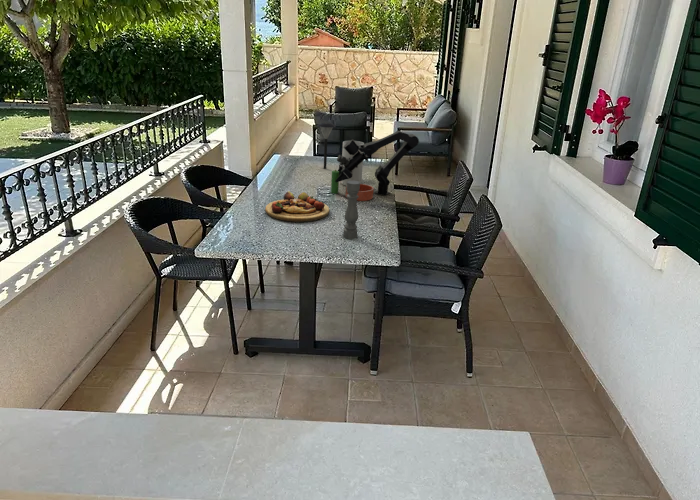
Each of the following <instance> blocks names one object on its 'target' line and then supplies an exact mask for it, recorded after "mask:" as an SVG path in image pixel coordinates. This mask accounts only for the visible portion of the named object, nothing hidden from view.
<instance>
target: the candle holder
mask: <svg viewBox="0 0 700 500" xmlns="http://www.w3.org/2000/svg"><path fill="white" fill-rule="evenodd" d="M359 190H360V182H358V181H347V192H348V195H347V197H346V198H347V206H346V210H345V213H344V220H345V224H344V228H343V235H342V236H343V238H344V239H347V240H355V239H357V238H358V225H357V224H356V223H357V221H358V220H359V213H358V207H357V203H358V201H357V198H358V197H359V196H358V195H357V194H358V192H359Z"/></svg>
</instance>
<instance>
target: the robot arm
mask: <svg viewBox="0 0 700 500" xmlns="http://www.w3.org/2000/svg"><path fill="white" fill-rule="evenodd" d="M398 140H401V141H403V142H402V145H401V147H400V148H399V149H397V151H396V152H395V153H394V154H393V155H392V156H391V158H389V159H388V161H387V162H386V163H385V164H384V165H381V164H379V166H378V167H377V168H376V169H375V172H374V177H375V179H376V180H377V181H378V182H377V184H378V185H377V191H375V193H374V194H375V195H381V196H387V195H389V194H390V193H391V192H390V191H389V185H390V183H391V181H390V179H389V178H388V177H389V175H390V173H391V171H392V170H393V168H394V167H395V166H397V164H398V163H399V162H400V161H401V160H402V158H403V157H404V156H405V155H406V154H407V153H408V152H409V151H411V150H413V149H414V148H416V146H418V145H419V143H420V139H419V137H418V136H417V135H416V134H414V133H409V134H408V133H406V132H403V131H400V130H396V131H395V132H393V133H391V134H388V135H386V136H384V137H382V138H380V139H378V140H375V141H370V142H366V143H364V145H359V146H358V145H357V144H356V143H355V142H354V141H355V140H354V139H351V140H348V141H349V142H347V143H346V144H345V145H344V147H343V146H342V149H343V148H344V149H345V150H346V151H347V152H348V153H349V154H350V155H354V154H355V155H354V156H353V157H352V158H348V159H347V158H346V157H344V156H342V154H338V156H337V158H336V162H338V163H339V164H338V169H337V171H339V177H338V178H337V179H336V180H335V182H339V183H340V182H341V181H342V180H346V179H349V178H351V177H352V175H353V174H352V170H354V169H355V168H357V167H358V165H359V164H360V163H361V162H362V161H363V162H364V161H366V162H367V163H368V162H369V158H370V157H369V156H372V155H374V154H375V153H377V151H378V150H380V149H381V148H383V147H385V146H387V145H390V144H392V143H394V142H396V141H398ZM359 150H360V151H361V152H364V153H360V151H359Z"/></svg>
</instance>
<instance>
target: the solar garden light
mask: <svg viewBox="0 0 700 500" xmlns="http://www.w3.org/2000/svg"><path fill="white" fill-rule="evenodd" d="M316 126H317V127H319V128H320V130H321V133H322V136H323V139H324V142H323V143H324V144H323V145H324V146H323V149H324V150H323V169H324V170H326V169H327V161H328V139H329V136H330V135H331V132H332V130H333V128H336V125H335V124H333V123H332V122H328V121H325V122H319V123H318V124H316Z"/></svg>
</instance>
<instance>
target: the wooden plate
mask: <svg viewBox="0 0 700 500" xmlns="http://www.w3.org/2000/svg"><path fill="white" fill-rule="evenodd" d="M264 210H265V213H266V214H267V215H268V216H269V217H272V218H274V219H277V220H281V221H285V222H311V221H312V222H313V221H318V220H321V219H323V218H326V217H327V216H328V215H329V214H330V207H329V206H328V205H327V204H325V202H324V201H319V200H318V199H317V198H314V196H313V195H309V194H308V193H306V192H305V191H303V192H301V193H299V194H298V196H297V198H295V195H294V194H293V192H292V191H290V190H288V191H286V192H285V193H284V195H283V199H278V200H274V201H271V202H269V203H267V204H266V206H265V209H264Z"/></svg>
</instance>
